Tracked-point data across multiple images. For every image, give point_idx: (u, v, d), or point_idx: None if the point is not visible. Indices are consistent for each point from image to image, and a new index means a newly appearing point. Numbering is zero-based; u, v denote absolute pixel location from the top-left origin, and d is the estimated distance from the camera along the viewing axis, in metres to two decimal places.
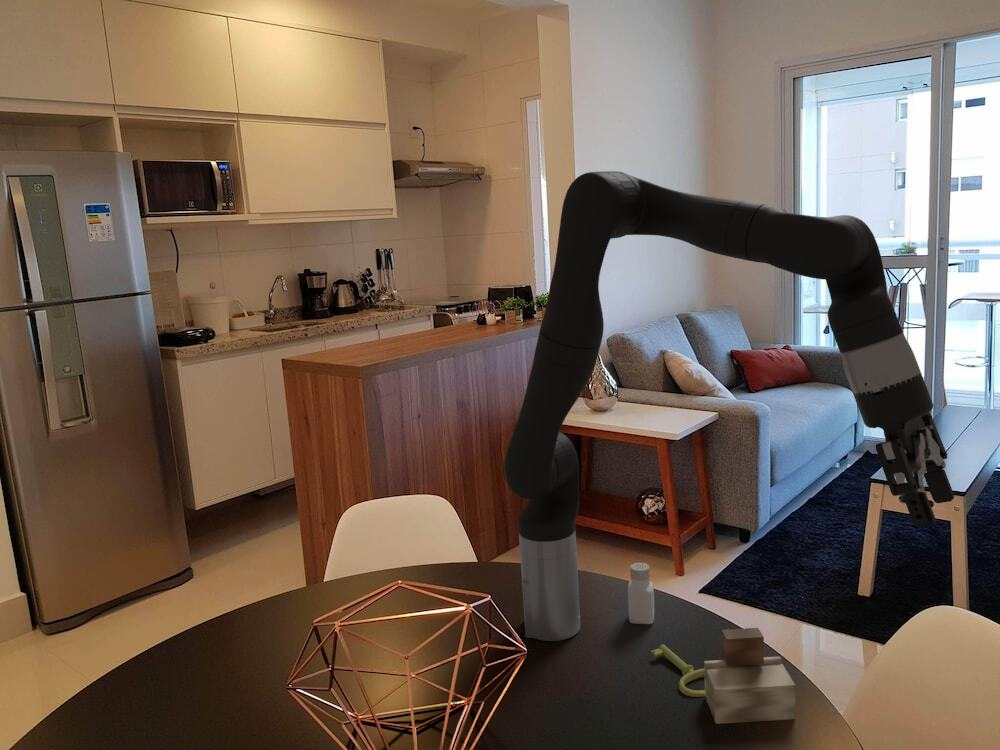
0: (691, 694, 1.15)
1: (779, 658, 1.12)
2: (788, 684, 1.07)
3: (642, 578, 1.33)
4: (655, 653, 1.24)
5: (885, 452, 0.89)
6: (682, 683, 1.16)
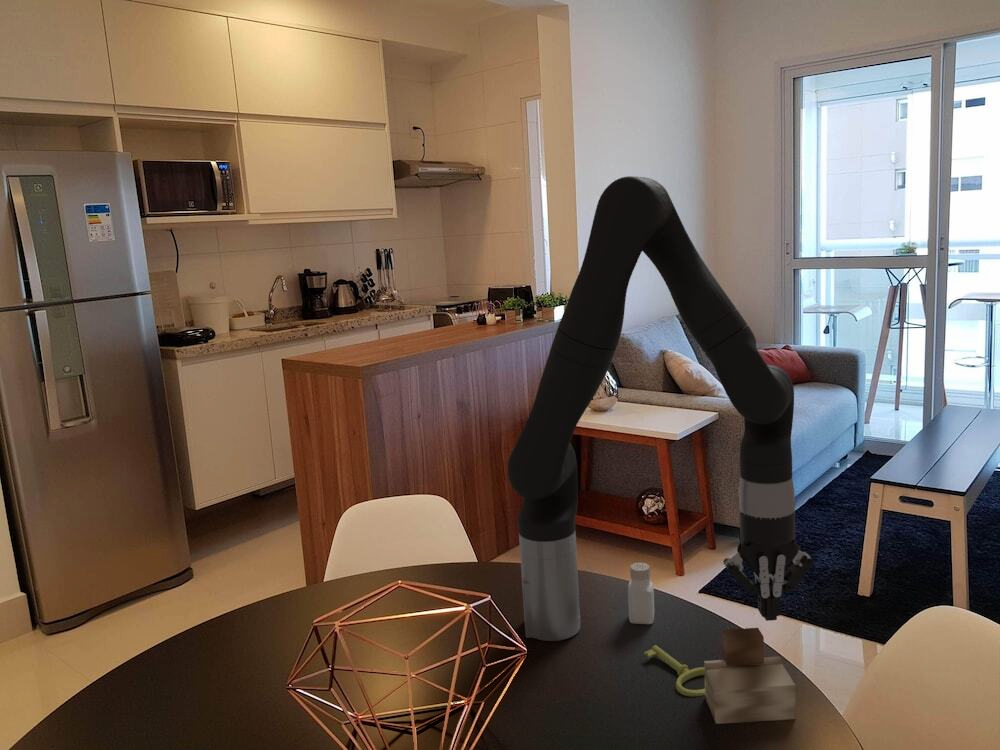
0: (689, 694, 1.15)
1: (779, 658, 1.12)
2: (788, 684, 1.07)
3: (642, 578, 1.33)
4: (648, 654, 1.24)
5: None
6: (679, 683, 1.16)
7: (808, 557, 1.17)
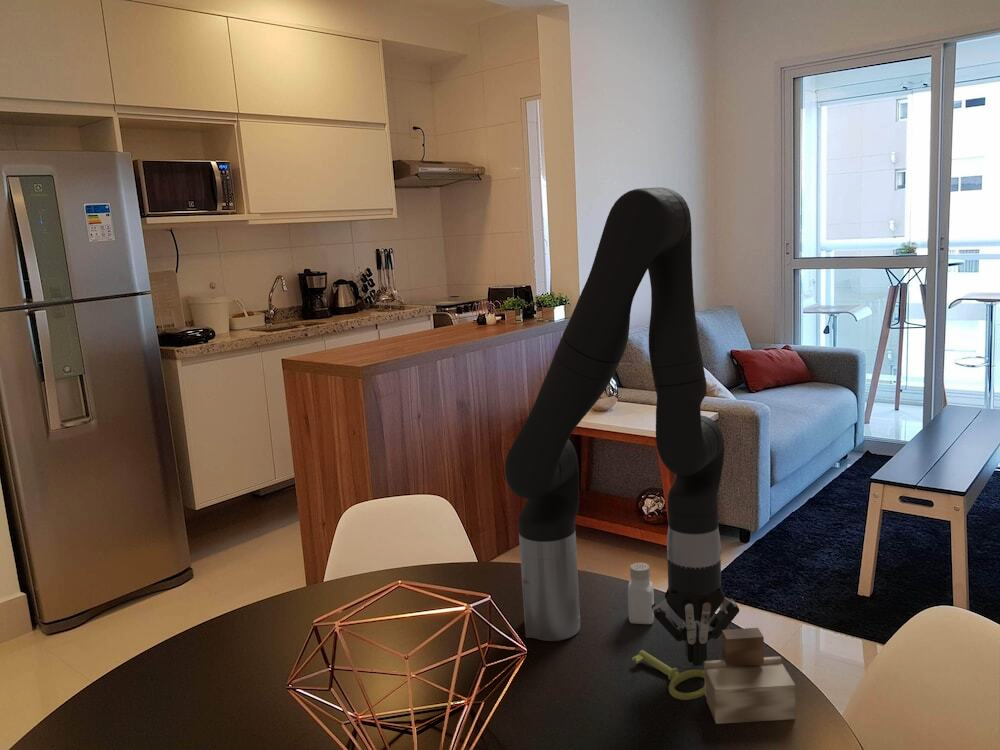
0: (684, 697, 1.14)
1: (779, 658, 1.12)
2: (788, 684, 1.07)
3: (642, 578, 1.33)
4: (636, 660, 1.22)
5: None
6: (672, 687, 1.16)
7: (734, 605, 1.19)
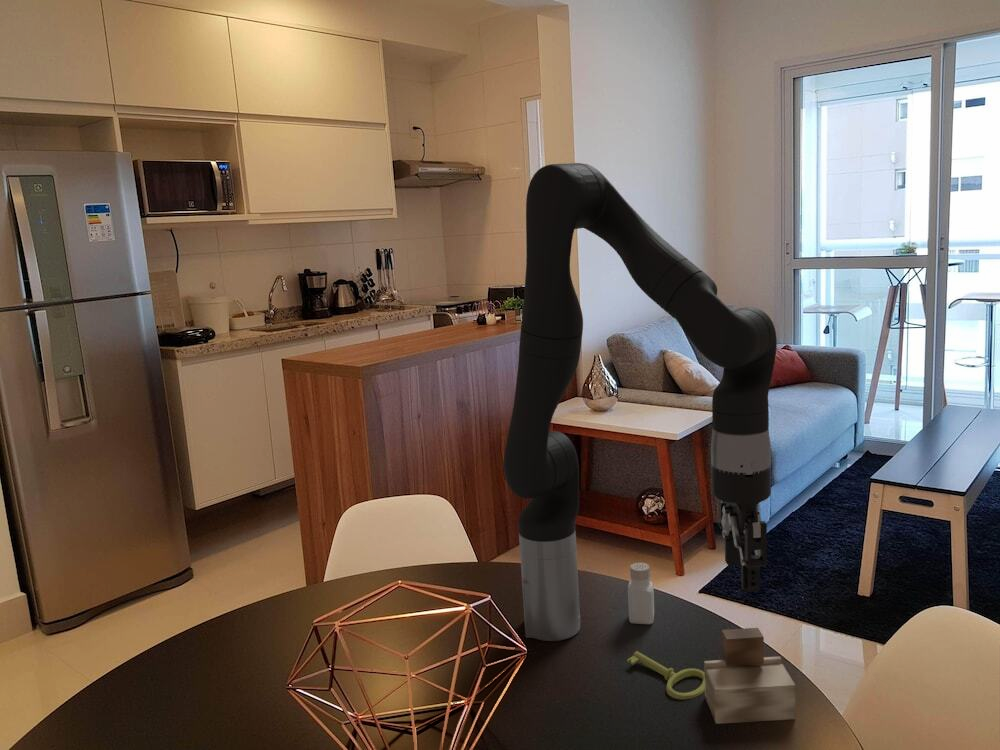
0: (682, 697, 1.14)
1: (779, 658, 1.12)
2: (788, 684, 1.07)
3: (642, 578, 1.33)
4: (632, 661, 1.22)
5: (754, 531, 1.02)
6: (670, 687, 1.16)
7: None
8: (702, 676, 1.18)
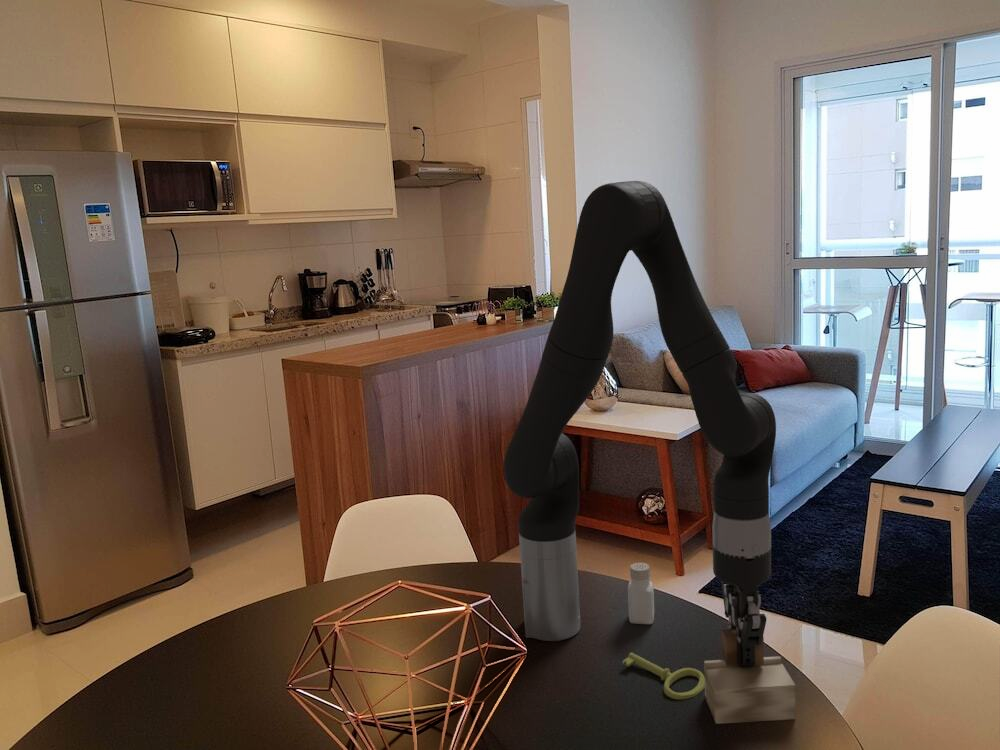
0: (680, 697, 1.14)
1: (779, 658, 1.13)
2: (788, 684, 1.07)
3: (642, 578, 1.33)
4: (627, 663, 1.22)
5: (753, 625, 1.05)
6: (668, 688, 1.15)
7: None
8: (698, 675, 1.19)
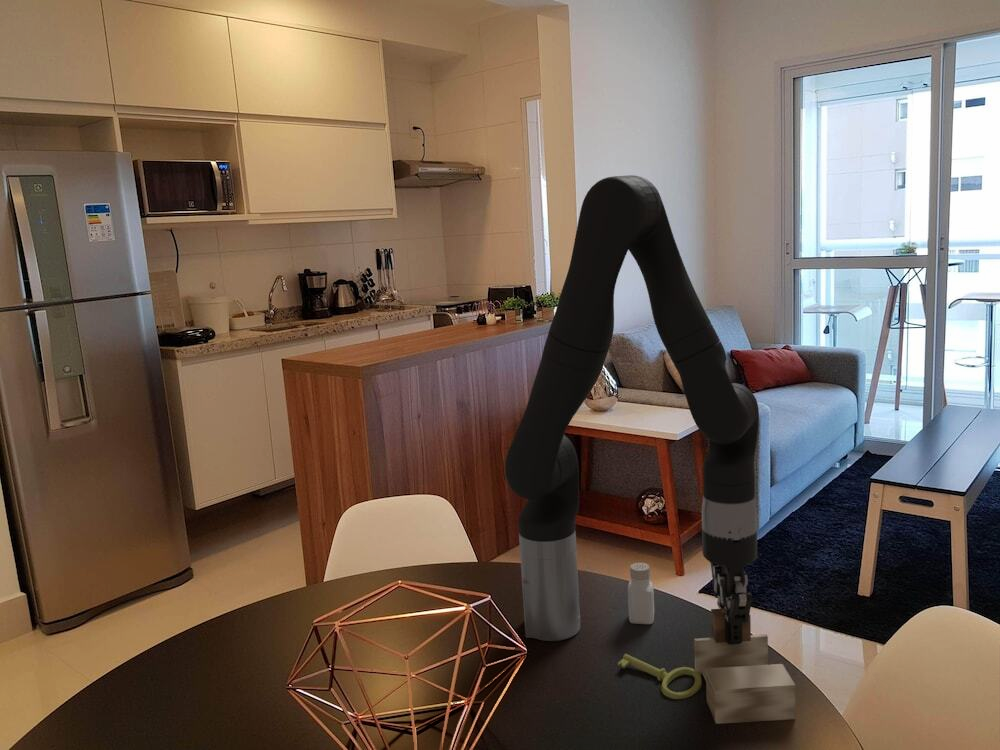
0: (679, 697, 1.14)
1: (765, 636, 1.18)
2: (788, 684, 1.07)
3: (642, 578, 1.33)
4: (623, 664, 1.21)
5: (740, 603, 1.11)
6: (666, 688, 1.15)
7: None
8: (694, 674, 1.19)
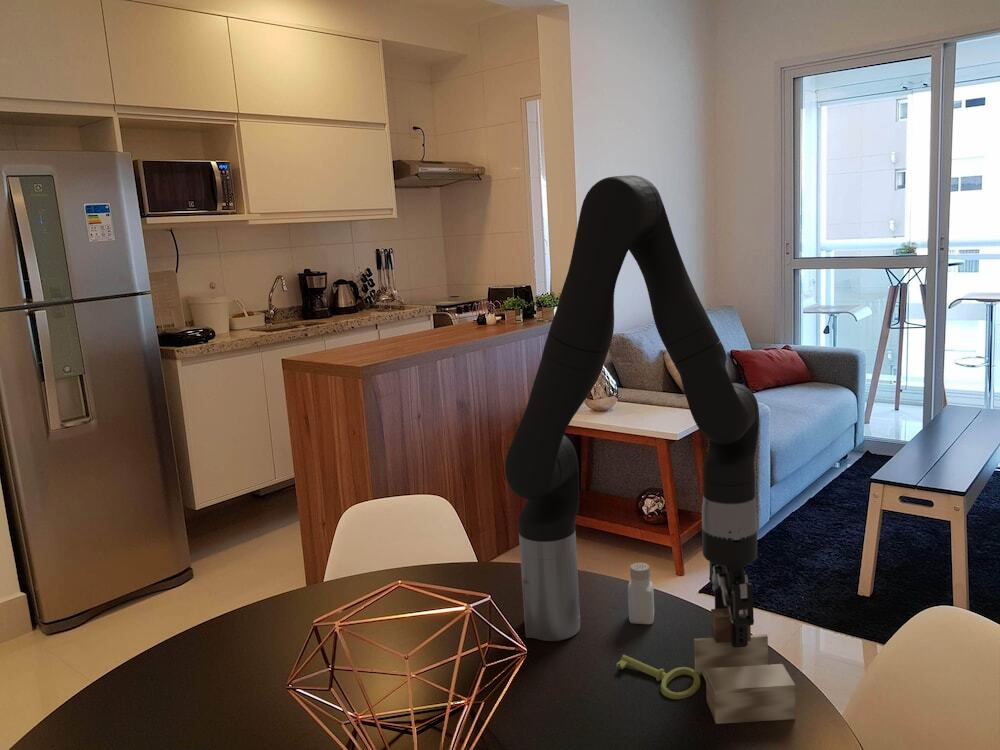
0: (679, 697, 1.14)
1: (765, 636, 1.18)
2: (788, 684, 1.07)
3: (642, 578, 1.33)
4: (621, 665, 1.21)
5: (741, 592, 1.10)
6: (666, 688, 1.15)
7: None
8: (692, 674, 1.19)
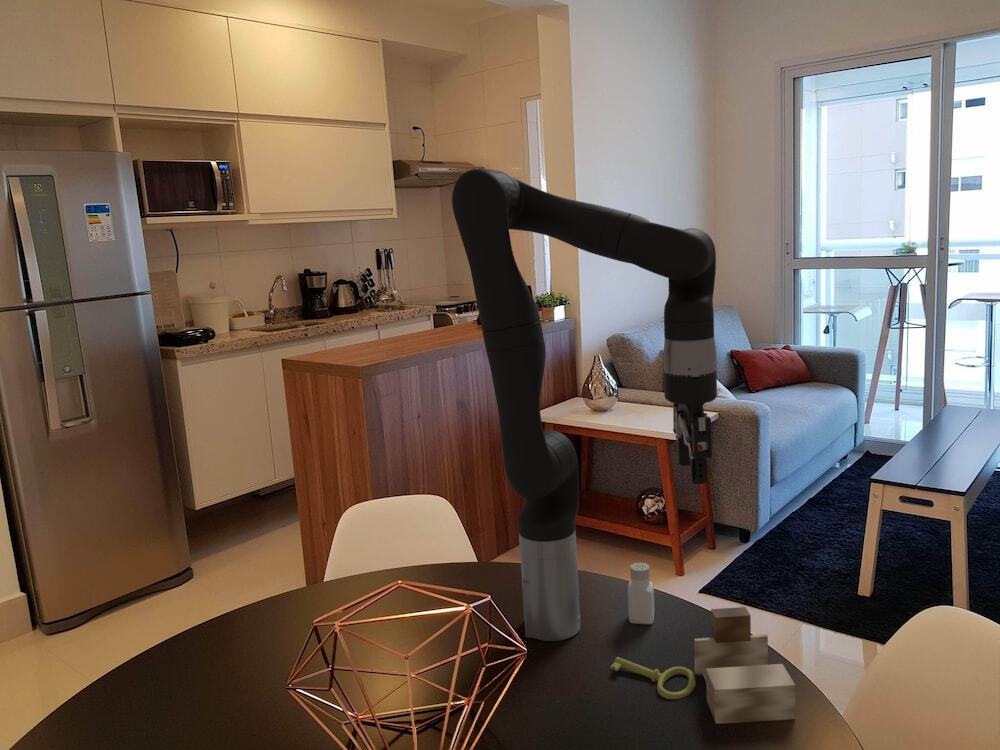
0: (676, 696, 1.14)
1: (765, 636, 1.18)
2: (788, 684, 1.07)
3: (642, 578, 1.33)
4: (616, 667, 1.21)
5: (699, 425, 1.14)
6: (663, 688, 1.15)
7: None
8: (687, 673, 1.19)
